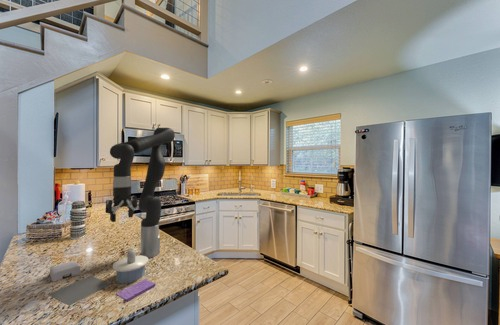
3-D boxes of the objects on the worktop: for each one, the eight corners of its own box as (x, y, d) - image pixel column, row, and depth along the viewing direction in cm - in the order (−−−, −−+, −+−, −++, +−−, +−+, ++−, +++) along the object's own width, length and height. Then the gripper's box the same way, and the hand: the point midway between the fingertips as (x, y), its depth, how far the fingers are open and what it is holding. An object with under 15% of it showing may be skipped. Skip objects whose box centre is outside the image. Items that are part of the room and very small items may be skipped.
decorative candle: (81, 234, 152) (82, 199, 153) (88, 236, 148) (89, 201, 149) (66, 238, 144) (67, 201, 144) (73, 240, 140) (74, 203, 140)
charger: (73, 265, 106) (80, 276, 96) (48, 272, 99) (52, 284, 89) (73, 256, 106) (80, 265, 96) (48, 262, 99) (53, 273, 89)
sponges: (115, 298, 81) (115, 293, 81) (145, 282, 92) (145, 278, 92) (126, 304, 78) (126, 299, 78) (155, 287, 89) (155, 282, 89)
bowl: (133, 270, 102) (133, 256, 102) (149, 275, 97) (149, 261, 97) (110, 281, 92) (110, 266, 92) (127, 287, 87) (127, 272, 87)
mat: (90, 277, 94) (90, 275, 94) (111, 286, 88) (111, 283, 88) (47, 296, 81) (47, 294, 81) (69, 308, 75) (69, 305, 75)
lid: (134, 255, 104) (134, 243, 104) (155, 260, 98) (155, 248, 98) (105, 267, 91) (105, 254, 91) (127, 274, 85) (127, 260, 86)
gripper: (130, 183, 108) (130, 215, 108) (101, 186, 95) (101, 222, 95) (140, 184, 105) (140, 216, 105) (112, 187, 92) (112, 224, 92)
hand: (122, 219), depth 100 cm, fingers open, 8 cm apart
